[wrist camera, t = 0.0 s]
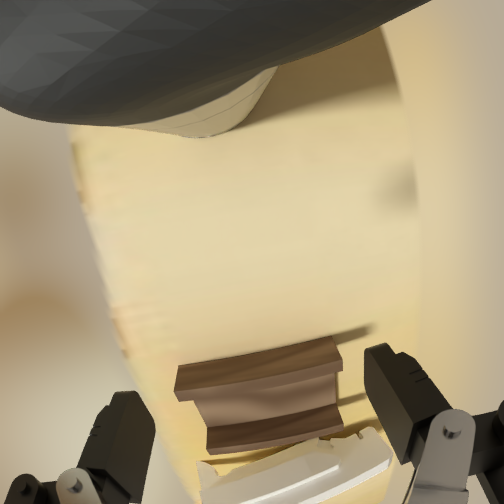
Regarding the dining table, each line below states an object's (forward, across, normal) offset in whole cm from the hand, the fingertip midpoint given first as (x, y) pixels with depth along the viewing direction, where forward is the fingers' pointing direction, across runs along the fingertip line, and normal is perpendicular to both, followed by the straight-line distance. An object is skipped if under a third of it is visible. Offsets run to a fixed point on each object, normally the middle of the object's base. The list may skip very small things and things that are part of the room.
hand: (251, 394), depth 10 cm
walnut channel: (+18, +1, +17) cm, 25 cm away
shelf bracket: (+19, 0, +31) cm, 36 cm away
